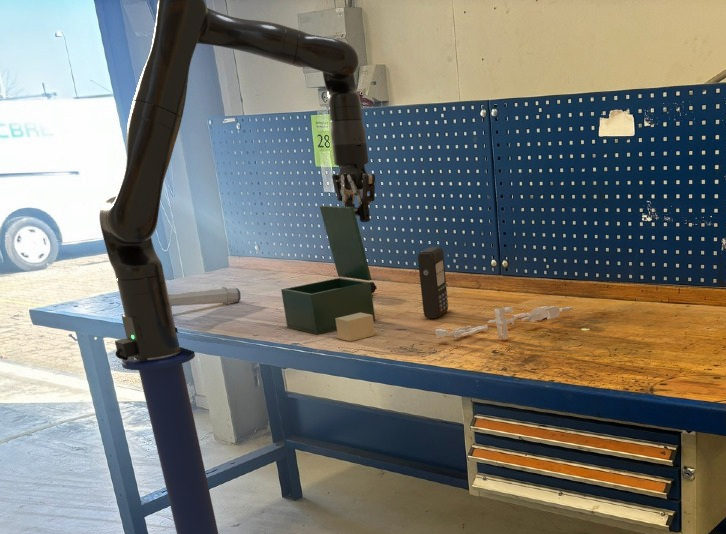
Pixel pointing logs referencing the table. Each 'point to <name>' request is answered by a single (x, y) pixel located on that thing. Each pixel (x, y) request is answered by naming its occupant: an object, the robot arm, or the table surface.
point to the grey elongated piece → (505, 321)
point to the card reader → (433, 282)
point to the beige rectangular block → (355, 326)
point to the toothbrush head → (205, 297)
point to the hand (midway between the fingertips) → (358, 220)
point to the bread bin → (325, 303)
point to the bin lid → (346, 241)
